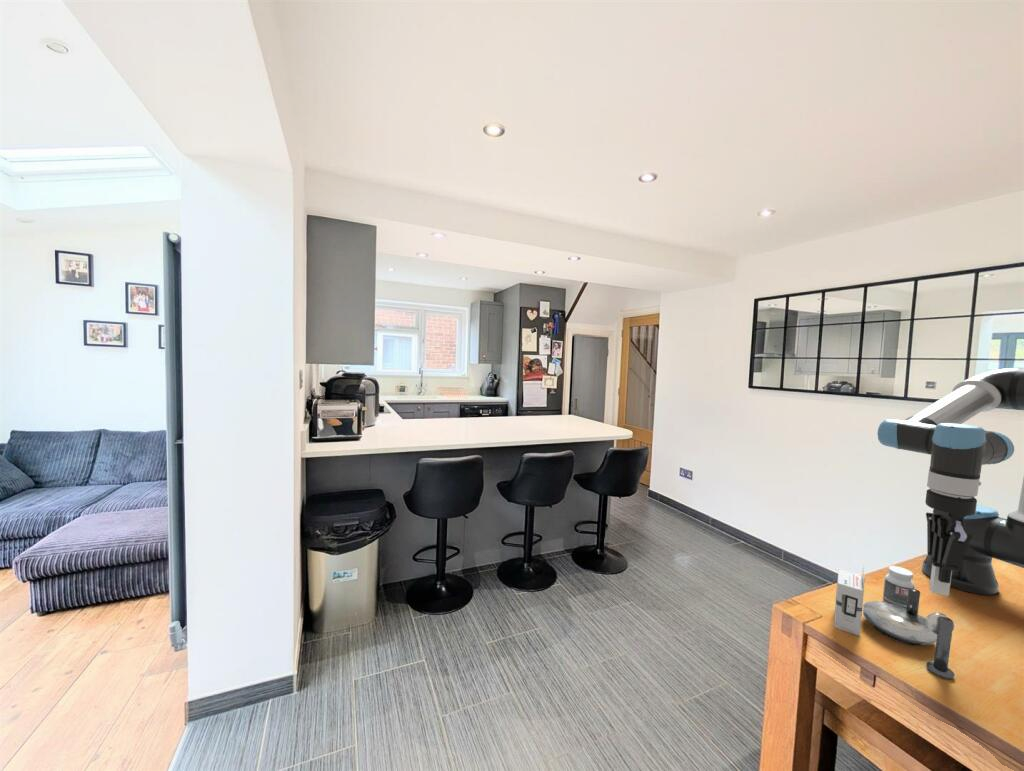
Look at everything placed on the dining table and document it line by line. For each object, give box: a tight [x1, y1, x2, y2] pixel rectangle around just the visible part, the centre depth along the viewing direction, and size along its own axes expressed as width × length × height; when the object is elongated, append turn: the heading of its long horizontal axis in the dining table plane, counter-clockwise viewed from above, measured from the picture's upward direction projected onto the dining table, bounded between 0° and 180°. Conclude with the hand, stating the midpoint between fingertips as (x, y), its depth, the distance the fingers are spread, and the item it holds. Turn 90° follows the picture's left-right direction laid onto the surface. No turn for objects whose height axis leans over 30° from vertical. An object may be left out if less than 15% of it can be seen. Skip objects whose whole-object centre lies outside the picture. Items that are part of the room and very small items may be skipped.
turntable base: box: [872, 624, 924, 647], centre depth 95 cm, size 9×9×2 cm
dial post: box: [925, 612, 955, 681], centre depth 83 cm, size 4×4×12 cm
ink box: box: [833, 564, 866, 637], centre depth 97 cm, size 8×5×15 cm, turn 140°
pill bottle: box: [882, 565, 915, 609], centre depth 105 cm, size 6×6×10 cm
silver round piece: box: [862, 588, 937, 645], centre depth 95 cm, size 13×13×8 cm
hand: (938, 592), depth 89 cm, fingers closed
